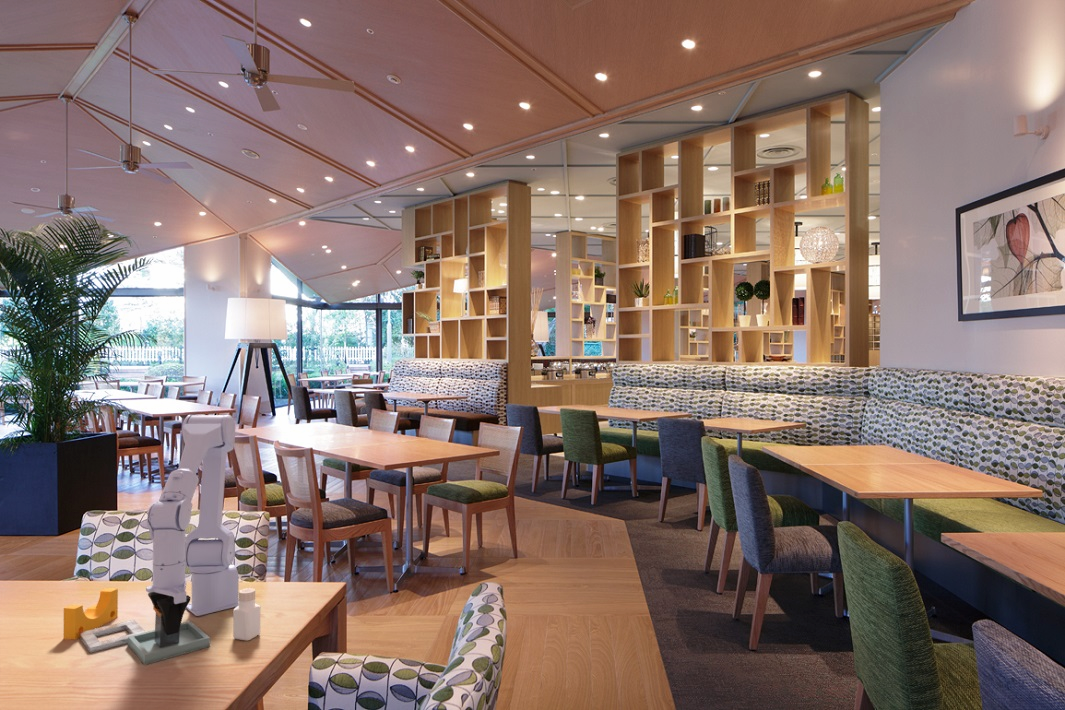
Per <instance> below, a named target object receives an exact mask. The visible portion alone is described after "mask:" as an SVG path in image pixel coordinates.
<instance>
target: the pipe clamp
mask: <svg viewBox="0 0 1065 710" xmlns="http://www.w3.org/2000/svg"><path fill="white" fill-rule="evenodd" d="M118 590H119V589H118V588H115V587H114V588H113V587H111V588H110V587H106V588H103V590H100V591H99V592H100V593H99V597H98V601H97V603H95V604H93V605H91V606H90V607H87V608H86V609H85V611H84V608H83V607H84V606H83V604H82V605H81V604H70V605H68V606H65V607H64V608H63V640H71V639H76V640H78V639H80V638H79V632H84V631H88V630H92V629H95V628H97V627H98V628H100V627H102V626H104V625H106V624H108V623H109V621H110V622H111V620H112V621H113V620H115V619H117V618H118V617H119V616H118V614H119V612H118V611H119V610H118V609H119V607H118V606H119V603H118V600H119V599H118V598H119V597H118V595H119V594H118V593H119V592H118ZM107 622H108V623H107ZM105 623H106V624H105ZM103 624H104V625H103ZM101 625H102V626H101ZM99 626H100V627H99ZM77 638H78V639H77Z"/></svg>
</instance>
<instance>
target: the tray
mask: <svg viewBox="0 0 1065 710" xmlns="http://www.w3.org/2000/svg"><path fill="white" fill-rule="evenodd" d="M127 646H128V647H129V649H130V650H131V651H132V652H133V654H135V655H136V657H137V658H138V659H139V660H140V661H141V662H142V664H143V665H148V664H153V663H157V662H160V661H164V660H166V659H172V658H174V657H177V656H181V655H182V656H183V655H185V654H188V653H193V652H197V651H200V650H203V649H206V648H210V647H211V637H210V636H208V635H207V634H206V633H205V632H204V631H203V630H201V629H200V628H199V626H197V625H196V624H195V623H193V622H192V621H191V620H189V621H185V622H181V626H180V635H179V643H176V644H172V645H168V646H164V647H159V646H158V645H157V644H156V642H155V629H153V630H150V631H146V632H144V633H140V634H136V635H132V636H128V643H127Z"/></svg>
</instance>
